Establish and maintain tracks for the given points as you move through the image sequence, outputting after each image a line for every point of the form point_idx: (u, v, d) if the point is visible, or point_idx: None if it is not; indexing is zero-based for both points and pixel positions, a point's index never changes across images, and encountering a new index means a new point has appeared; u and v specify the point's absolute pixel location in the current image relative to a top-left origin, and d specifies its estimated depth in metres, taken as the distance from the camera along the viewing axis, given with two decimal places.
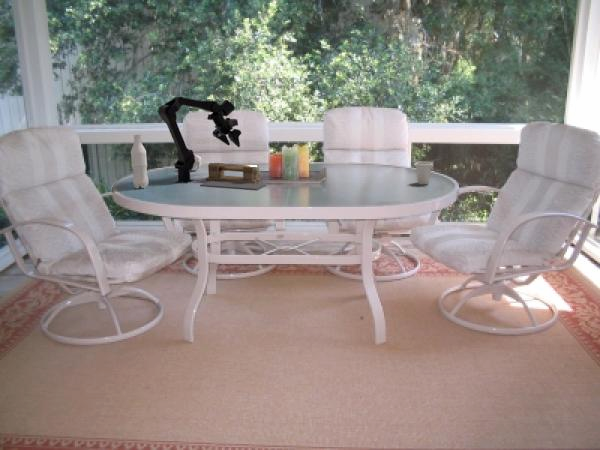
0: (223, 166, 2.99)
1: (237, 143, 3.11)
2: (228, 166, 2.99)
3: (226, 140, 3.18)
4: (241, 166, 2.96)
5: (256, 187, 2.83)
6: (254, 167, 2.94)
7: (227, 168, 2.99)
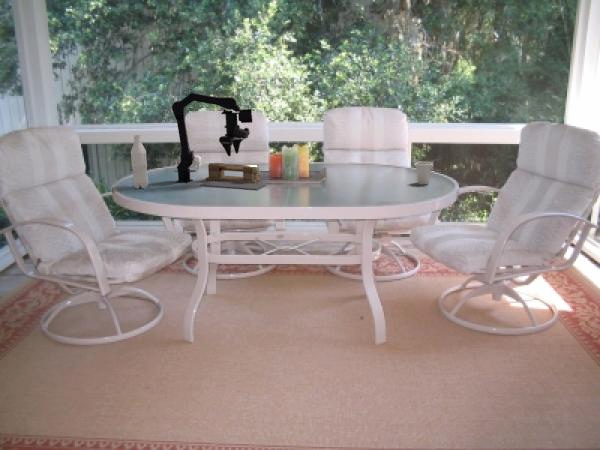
0: (223, 166, 2.99)
1: (227, 151, 2.93)
2: (228, 166, 2.99)
3: (236, 147, 3.02)
4: (241, 166, 2.96)
5: (256, 187, 2.83)
6: (254, 167, 2.94)
7: (227, 168, 2.99)
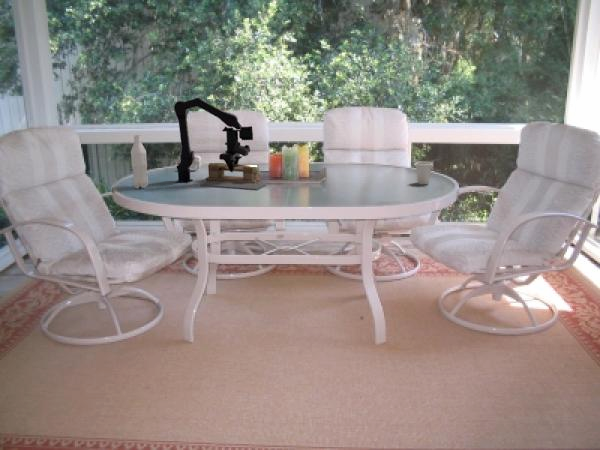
0: (223, 166, 2.99)
1: (229, 167, 2.97)
2: None
3: None
4: (241, 166, 2.96)
5: (256, 187, 2.83)
6: (254, 167, 2.94)
7: (227, 168, 2.99)
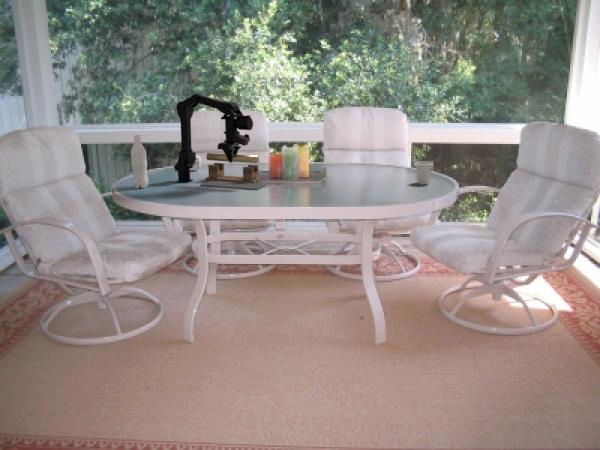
0: (222, 157, 2.86)
1: (228, 157, 2.84)
2: None
3: None
4: (240, 156, 2.83)
5: (256, 187, 2.83)
6: (254, 157, 2.81)
7: (226, 158, 2.85)
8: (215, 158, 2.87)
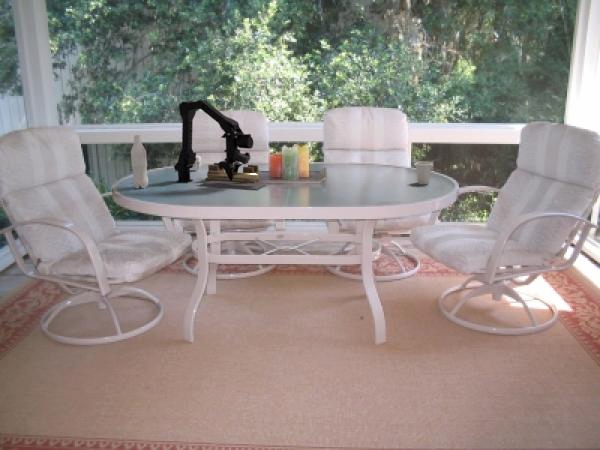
0: (222, 174, 2.88)
1: (229, 175, 2.86)
2: None
3: None
4: (241, 174, 2.85)
5: (256, 187, 2.83)
6: (254, 175, 2.83)
7: (226, 176, 2.88)
8: (216, 176, 2.90)
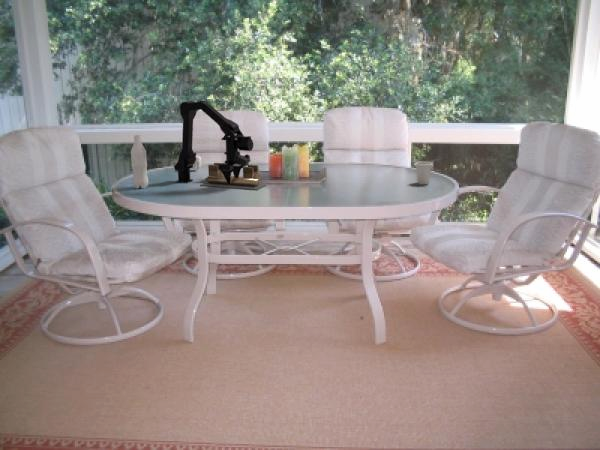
0: (222, 180, 2.89)
1: (227, 178, 2.84)
2: None
3: (236, 174, 2.92)
4: (241, 180, 2.86)
5: (256, 187, 2.83)
6: (254, 181, 2.83)
7: None
8: (216, 182, 2.90)
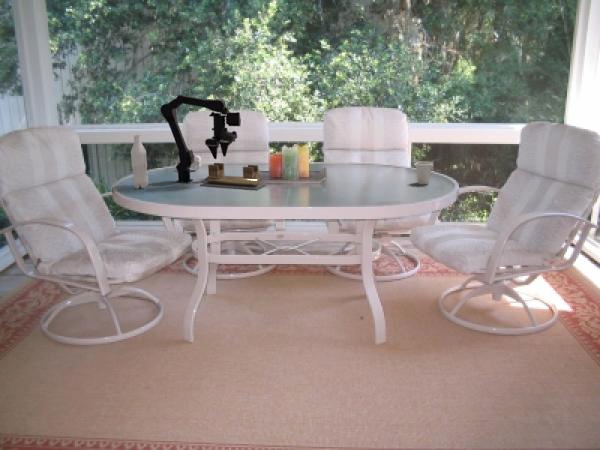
0: (222, 182, 2.88)
1: (213, 153, 2.91)
2: (227, 181, 2.87)
3: (224, 150, 3.00)
4: (240, 181, 2.85)
5: (256, 187, 2.83)
6: (254, 183, 2.83)
7: (226, 183, 2.88)
8: (216, 183, 2.90)
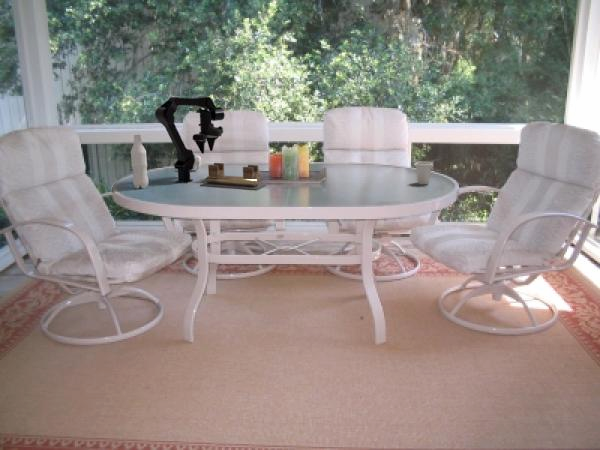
0: (222, 183, 2.88)
1: (200, 148, 3.02)
2: (226, 183, 2.87)
3: (210, 145, 3.11)
4: (240, 183, 2.85)
5: (256, 187, 2.83)
6: (253, 184, 2.83)
7: (226, 184, 2.88)
8: (215, 183, 2.90)
